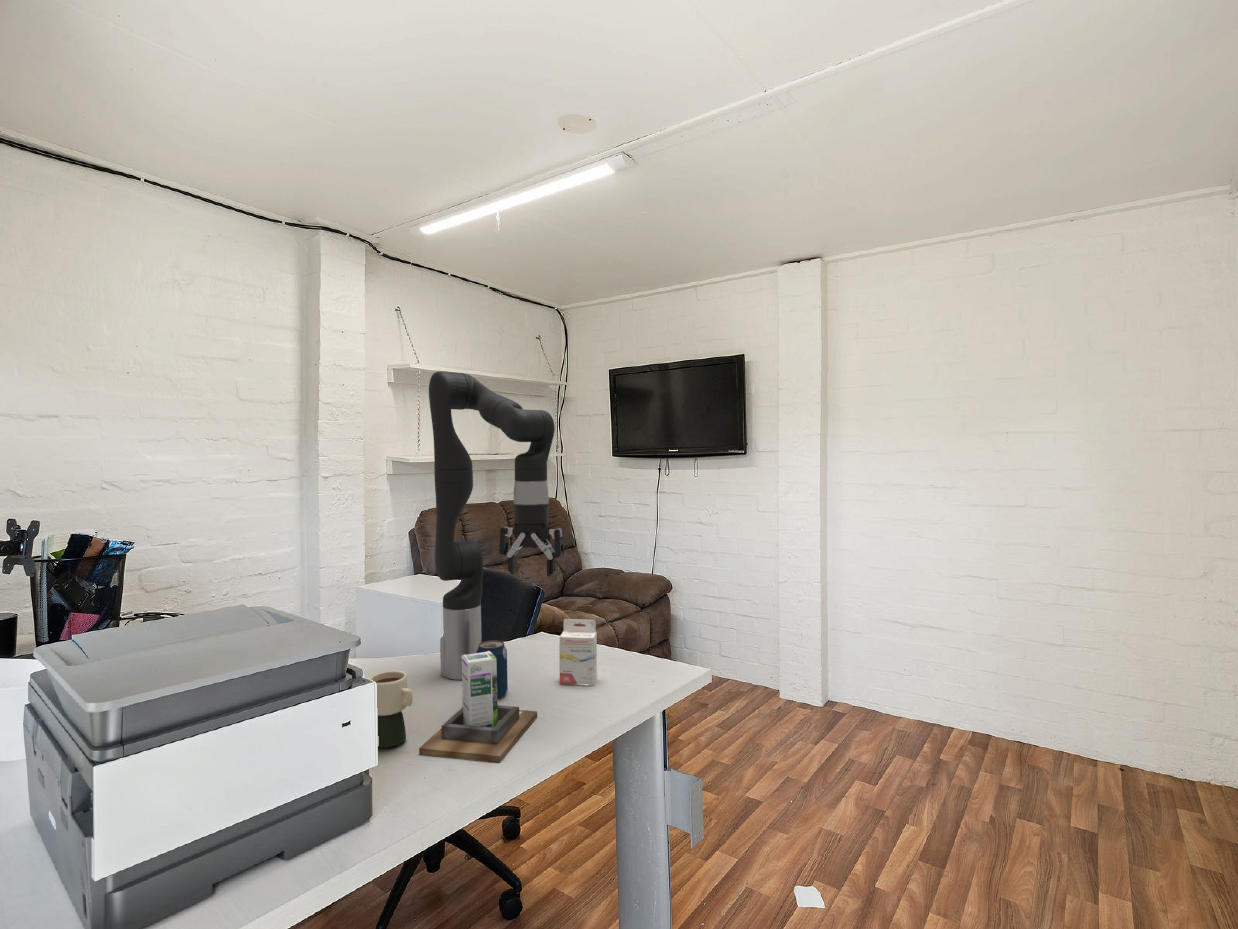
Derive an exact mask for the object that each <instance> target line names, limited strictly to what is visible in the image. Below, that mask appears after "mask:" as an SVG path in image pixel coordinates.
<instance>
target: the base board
mask: <svg viewBox="0 0 1238 929" xmlns="http://www.w3.org/2000/svg"><path fill="white" fill-rule="evenodd" d="M497 706H498V724H497V725H496V726H495V727H494V728H491V727H480V726H469V725H464V723H463V706H461V708H460V709H459V710H458V711H457V712H455V713H454V714H453V715H452V716H451V717H450V718H448V720H446V721H445V722H444V723H443V724H442V725H441V726H440V727H441V728H439V730H437V731H436V733H434V734H433V735H432V736H431V737H430V738H429V739H427V741H425V742H424V743H423V744H422V745H420V746H419V748H418V750H419V751H418V754H419V755H421V756H429V757H430V756H433V757H441V758H450V759H460V760H461V759H462V760H470V761H481V762H490V763H491V762H492V763H501V762H502V761H503V759H505V757H506V756H507V755H508V753H510V751H511V750H512V749H513V747H514V746H515V745H516V744H517V743H518V742H519V740H520V739H521V737H522V736H523V735H524V734H525V733H526V732H527V730H528V729H529V728H530V727H531V726H532V724H533V723H534V722H535V720H536V719H537V718H538V711H537V710H525V709H520V706H513V705H503V704H502V705H501V704H500V705H499V704H497Z"/></svg>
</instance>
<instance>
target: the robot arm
mask: <svg viewBox="0 0 1238 929" xmlns="http://www.w3.org/2000/svg"><path fill="white" fill-rule="evenodd" d="M428 399H429V401H428V402H429V408H430V410H429V411H430V416H431V418H430V419H431V424H432V425H431V426H432V432H433V434H432V436H433V437H432V438H433V454H434V456H433V457H434V459H433V462H434V463H433V465H434V466H433V467H434V468H433V471H434V472H433V473H434V475H433V476H434V488H435V489H434V490H435V491H434V492H435V507H436V508H435V509H436V510H435V512H436V515H435V517H436V518H435V520H436V521H435V522H436V523H435V540H434V542H435V543H434V566H435V571H436V574H437V576H438V578H439V579H440V581H444V582H447V581H448V582H449V581H455V580H460V582H459V584H458V585H456V586H455V587H454V588H453V589H451V590H449V591H448V592H446V593H445V594H443V596H442V621H443V622H442V623H443V624H442V625H443V626H442V627H443V629H442V630H443V632H442V633H443V636H441V637H440V639H439V646H440V647H439V649H440V650H439V652H440V655H439V656H440V676H441V677H445V678H446V679H449V680H454V681H455V680H460V681H461V680H462V656H463V655H468V654H475V653H476V652H477V649H478V647H479V644H480V643H481V642H482V610H481V609H482V606H481V604H482V600H481V599H482V594H483V576H484V553H483V550H482V547H481V545H480V544H479V543H478V542H477V540H473V539H472V540H471V539H469V540H462V541H460V540H459V541H455V534H456V526H457V523H458V520H459V517H460V515H461V514H462V512H463V511H464V508H465V506H466V505H467V503H468V500H469V499H470V497H471V494H472V492H473V488H474V474H473V461H472V458H471V455H470V454H469V453H468V450H467V449H466V447H465V445H464V444H463V442H462V441H461V439H460V438H459V436H458V434H457V433H456V430H455V427H454V423H453V416H452V410H459V411H461V410H473V411H478V413H479V415H480V417H481V418H482V419H483V420H484V421H485V422H486V423H488V424H489V425H491V426H494V427H496V428H497V429H500V430H501V431H502V433H503V434H505V436H506V437H507V438H508V439H510V441H511V440H512V441H514V442H517V443H530V445H529V447H528V450H527V451H526V452H522V453H520V454H518V455H516V456H515V459H514V486H513V523H514V524H513V527H509V526H507V525H506V526H503V527H501V528H500V529H499V549H498V550H499V551H498V553H499V554H500V555H503V556H506V558H507V572H508V573H509V574H510V575H512V576H513V575H516V574H517V572H518V559H517V558H518V557H517V556H516V555H517V554H518V552H519V551H520V550H521V548H523V549H528V548H531V549H538V548H539V550H540V551H541V552H542V553H543V554H544V555H545V556H546V558H547V559H546V577H552V576H554V574H555V573H556V567H557V566H556V565H557V564H556V559H557V558H560V557H561V556H563V555H564V554H565V546H564V545H565V543H564V530H563V528H561V527H559V528H554V529H552V528H550V526H549V522H550V520H549V515H550V514H549V512H550V511H549V508H550V507H549V501H550V497H549V486H548V460H549V456H550V452H551V449H552V445H553V440H554V436H555V426H556V425H555V422H554V419H553V417H552V415H551V414H550V412H548V411H546V410H543V409H524V408H523V406H521V405H520V403H518V402H516V401H515V400H512V399H510V398H508V397H505V396H503V395H501V394H498V393H496V392H494V391H493V390H491V389H490V388H488V387H487V386H485V385H484V384H483V383H481V381H479V380H478V379H476V378H475V377H474V376H472V375H470V374H468V373H466V372H465V373H464V372H458V371H457V372H454V371H440V370H439V371H435V372H434V373H432V375H431V377H430V379H429V383H428ZM512 534H513V536H514V538H515V539H516V540H515V541H514V542H513V544H512V545H511V547H509V546H510V537H511V536H512ZM550 536H551V538H552V539H553V540H554V548H553V547H552V544H551V543H550V541H549V540H548V538H549V537H550Z"/></svg>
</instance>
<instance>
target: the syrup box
mask: <svg viewBox="0 0 1238 929" xmlns="http://www.w3.org/2000/svg"><path fill="white" fill-rule="evenodd" d="M461 680H462V682H461V683H462V707H463V723H464V725H469V726H480V727H491V728H494V727H495V726H496V725H497V724H498V706H497V705H498V700H497V662H496V658H495V656H494V655H493V654H492V653H491V652H490V651H486V652H482V653H475V654H468V655H463V656H462V679H461Z"/></svg>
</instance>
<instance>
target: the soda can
mask: <svg viewBox="0 0 1238 929" xmlns="http://www.w3.org/2000/svg"><path fill="white" fill-rule="evenodd" d="M486 651H490V652H491V653H492V654H493V655H494V656H495V658H496V662H497V699H498V700H500V698H501V699H503V698H504V697H505V696H506V694H507V692H508V689H509V688H508V685H509V684H508V650H507V648H506V646H505V642H504V641H502V640H497V639H496V640H495V639H494V640H493V639H492V640H491V639H490V640H485V641H481V643H480V644H479V647H478V649H477V652H476V653H482V652H486ZM502 697H503V698H502Z"/></svg>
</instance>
